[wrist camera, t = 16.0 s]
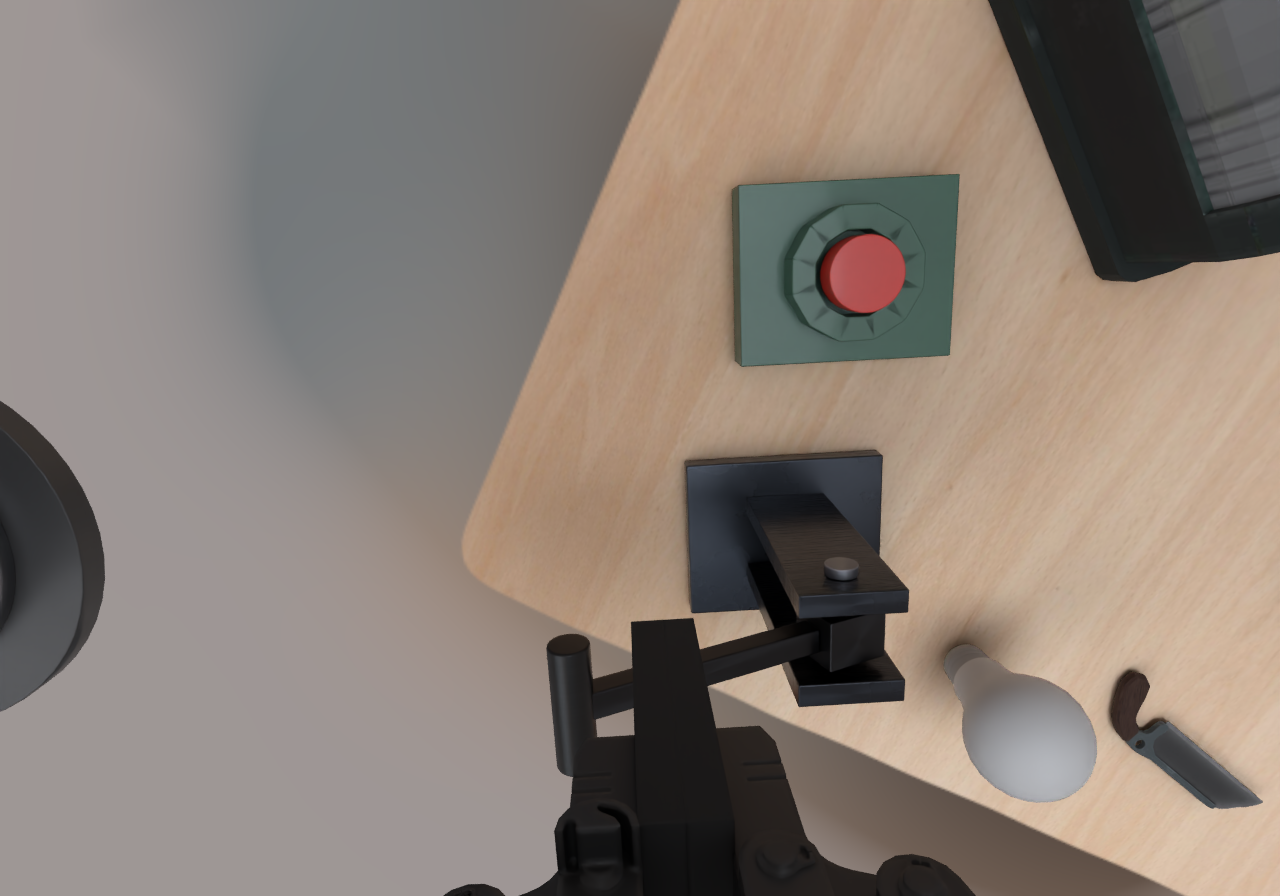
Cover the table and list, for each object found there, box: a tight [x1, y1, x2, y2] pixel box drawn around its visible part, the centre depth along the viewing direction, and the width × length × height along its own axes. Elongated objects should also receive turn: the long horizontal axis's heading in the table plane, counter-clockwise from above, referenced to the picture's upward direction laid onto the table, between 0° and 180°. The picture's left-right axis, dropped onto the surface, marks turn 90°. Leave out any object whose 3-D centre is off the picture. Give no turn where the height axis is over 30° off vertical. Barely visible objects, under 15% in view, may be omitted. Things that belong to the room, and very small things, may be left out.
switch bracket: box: [684, 450, 909, 707], centre depth 36 cm, size 11×9×14 cm
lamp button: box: [820, 234, 906, 313], centre depth 35 cm, size 4×4×2 cm
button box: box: [732, 174, 959, 367], centre depth 38 cm, size 11×9×4 cm
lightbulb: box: [944, 644, 1097, 802], centre depth 40 cm, size 6×6×11 cm
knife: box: [1111, 671, 1263, 809], centre depth 47 cm, size 14×4×1 cm, turn 50°
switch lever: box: [547, 614, 885, 777], centre depth 29 cm, size 14×5×2 cm, turn 93°
